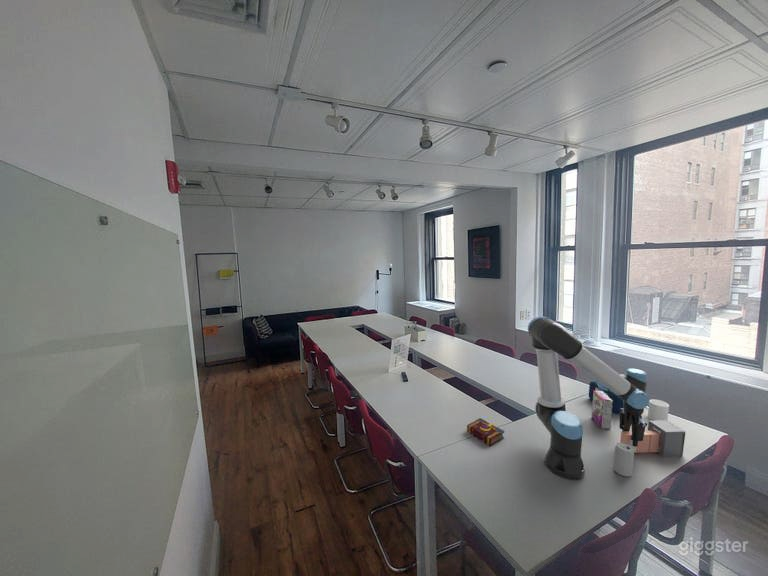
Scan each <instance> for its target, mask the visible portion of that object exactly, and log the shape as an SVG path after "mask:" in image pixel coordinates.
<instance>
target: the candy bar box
mask: <svg viewBox="0 0 768 576" xmlns="http://www.w3.org/2000/svg"><path fill="white" fill-rule="evenodd" d="M612 405H613V401H612V400H611V399H610V398H609V397H608V396H607V395H606V394H605V393H604V392H603V391H596V390H595V391H593V401H592V407H591V410H592V411H591V418H592V419H593V420H594V422H596V424H597V425H598V426H599V427H600V428H601V429H604V430H605V429H608V430H612V429H611V428H612V417H613V413H612Z"/></svg>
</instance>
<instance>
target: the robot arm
mask: <svg viewBox="0 0 768 576" xmlns="http://www.w3.org/2000/svg"><path fill="white" fill-rule="evenodd" d="M527 332H528V334H529V336H530V337H531V345H532V348H533V349H535V351H536V361H537V370H538V371H537V372H538V383H539V393H540V396H538V398H537V401H536V403H535V407H534V409H535V413H536V416H537V417H538V419H539V421H540V422H541V423H542V425H543V426H544V427H545V428H546V430H547V431H548V432H549V434H550V442H549V443H550V444H549V445H550V446H549V448H548V450H547V452H546V454H545V456H544V463H545V466H546V468H547V469H549V471H551V472H552V473H554V475H557V476H559V477H561V478H564V479H567V480H581V479H582V478H584V476H585V465H584V461H583V458H582V446H583V445H582V443H583V434H584V427H583V425H584V424H583V423H582V420H581V419H580V418H579V417H577V415H575V414H572V413H571V412H569V411H567V410H566V401H565V399H563V397H562V395H561V394H562V393H561V385H560V384H561V382H560V370H559V359H558V357H559V356H561V357H562V358H563V359H565V360H568V361H571V362H572V363H574V364H575V365H576V366H578V367H579V368H581V369H582V370H583V371H584V372H585V373H587V374H588V375H589V376H591V377H592V378H594V379H595V382H597V385H598V387H599V388H600V389H601V390H606V391H608V390H609V391H611V392H613V393H614V394H615V395H617V396H618V397H620V398H621V399H622V400H624V401H623V408H621V409H619V413H620V414H619V426H618V427H619V429H620V430H621V431H632V438H630V446H631V447H632V448H633V451H634V452H636V447H637V446H638V441H643V437H644V432H645V431H646V430H645V429H646V428H647V427H648V423H647V422H645V421H644V420H643V417H642V415H643V414H644V411H645V409H646V408H645V407H648V406H649V401H650V398H649V396H648V395H647V393H646V392H647V391H646V390H647V383H648V374H647V373H646V372H645V371H644V370H641V369H637V368H631V367H630V368H627V369H626V370H625V373H618V372H617V371H616V370H614V369H613V368H612V367H611V366H610V365H608V364H607V363H605V362H604V361H603V360H602V359H600V358H599V357H597V356H596V355H595V354H594V353H592V352H591V351H589V350H588V349H587V348H586V347H585V346H584V344H583V342H582V341H580V340H579V339H578V338H577V337H576V336H574V334H572V333H571V331H569V330H568V329H567V328H566V327H564V326H563V325H562V324H560V323H558V322H557V321H555V320H553V319H551V318H550V317H547V316H537V317H534V318H533V319H532V320H530V321H529V323H528V325H527ZM558 355H559V356H558Z"/></svg>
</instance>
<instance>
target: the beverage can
mask: <svg viewBox="0 0 768 576" xmlns="http://www.w3.org/2000/svg"><path fill="white" fill-rule="evenodd" d="M634 458H635V453H634V451H633V448H632V447H631V446H629V445H627V444H624V443H620V442H616V445H614V456H613V467H612V468H613V470H614V471H615V472H616V473H617V474H618V475H619V476H623V477H631V476H632V475H633V468H634Z"/></svg>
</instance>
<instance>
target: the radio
mask: <svg viewBox="0 0 768 576" xmlns="http://www.w3.org/2000/svg"><path fill="white" fill-rule="evenodd" d="M588 388H589V389H588V398H589V399H590V401H592V402H593V391H595V390H596V391H603V392H604V393H605V394H606V395H607V396H608V397H609V398H610V399H611V400H612V401H613V405H612V415H620V413H619V409H621V408H623V401H624V400H622V399H621V398H620V397H618V396H617V395H615V394H614V393H613V392H611V391H609V390H608V391H606V390H601V389H600V388H599V387H598V385H597V382H596V381H590V382H589V387H588Z"/></svg>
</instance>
